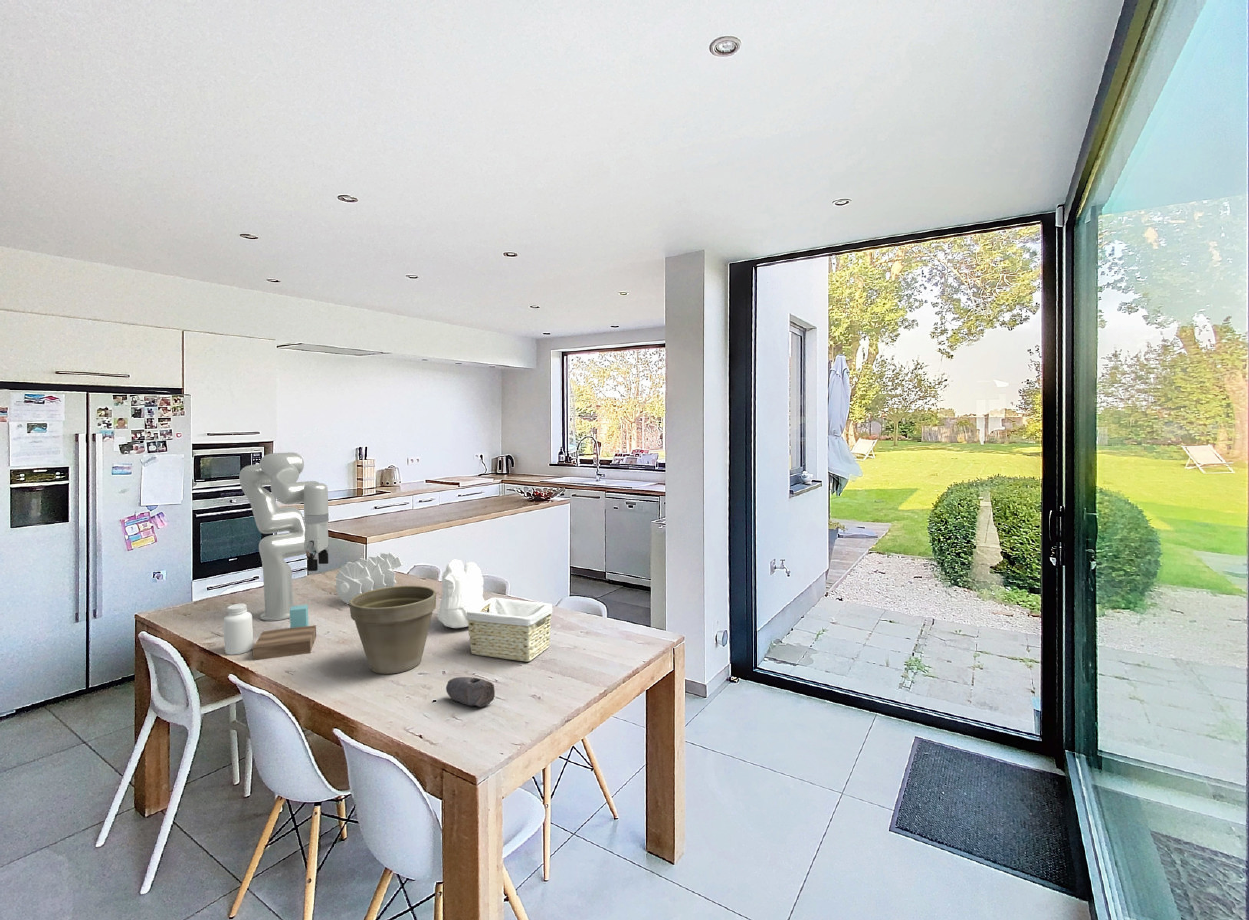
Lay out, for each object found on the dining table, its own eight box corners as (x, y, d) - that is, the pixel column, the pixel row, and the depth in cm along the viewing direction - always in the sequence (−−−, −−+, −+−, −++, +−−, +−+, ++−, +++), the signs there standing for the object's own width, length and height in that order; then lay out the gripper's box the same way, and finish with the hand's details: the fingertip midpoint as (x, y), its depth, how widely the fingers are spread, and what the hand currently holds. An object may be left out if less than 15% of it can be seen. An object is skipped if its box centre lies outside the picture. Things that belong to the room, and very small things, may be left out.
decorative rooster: (462, 636, 208) (460, 566, 206) (427, 630, 215) (425, 561, 213) (505, 615, 231) (504, 551, 229) (473, 609, 237) (471, 547, 236)
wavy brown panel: (263, 642, 204) (263, 631, 203) (316, 636, 209) (315, 625, 209) (253, 660, 189) (252, 648, 188) (310, 653, 194) (309, 641, 194)
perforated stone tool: (440, 701, 161) (439, 675, 160) (454, 693, 165) (453, 668, 165) (483, 713, 154) (482, 687, 153) (497, 705, 158) (496, 679, 158)
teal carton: (293, 630, 215) (291, 606, 214) (308, 629, 217) (307, 604, 216) (290, 635, 210) (289, 610, 210) (306, 633, 212) (305, 608, 212)
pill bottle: (223, 657, 191) (220, 611, 190) (226, 648, 199) (224, 604, 197) (252, 652, 195) (250, 607, 194) (254, 644, 202) (252, 600, 201)
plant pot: (374, 648, 198) (372, 584, 196) (448, 649, 197) (447, 584, 195) (335, 681, 173) (332, 608, 171) (420, 682, 172) (418, 608, 171)
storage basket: (464, 655, 192) (463, 610, 191) (493, 637, 207) (492, 595, 206) (530, 665, 183) (529, 618, 182) (555, 647, 198) (554, 603, 197)
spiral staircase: (338, 615, 245) (383, 595, 268) (366, 601, 238) (410, 582, 261) (320, 574, 246) (367, 557, 269) (348, 559, 239) (394, 543, 262)
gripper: (315, 514, 217) (316, 561, 219) (294, 523, 200) (296, 574, 202) (336, 514, 218) (338, 560, 220) (318, 523, 201) (319, 573, 202)
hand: (318, 567), depth 211 cm, fingers open, 9 cm apart
